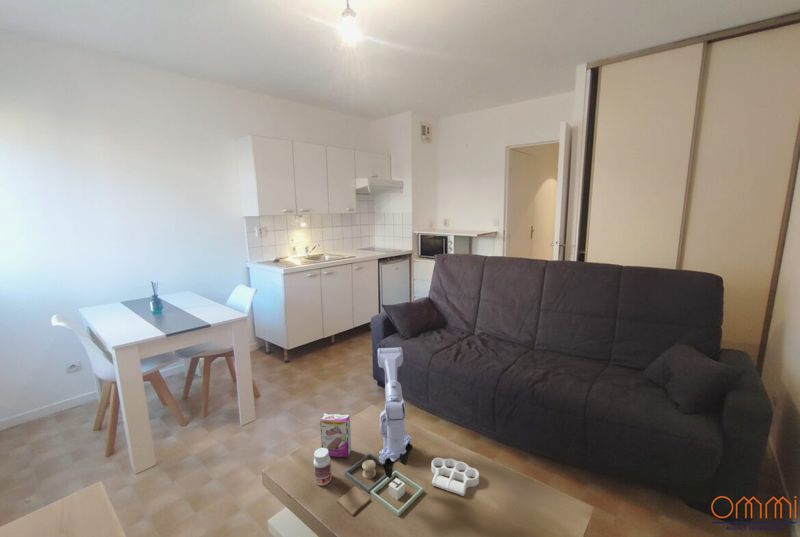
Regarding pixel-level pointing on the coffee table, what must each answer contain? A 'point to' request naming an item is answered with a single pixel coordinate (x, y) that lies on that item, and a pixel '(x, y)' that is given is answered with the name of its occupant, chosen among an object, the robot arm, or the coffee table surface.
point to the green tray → (408, 503)
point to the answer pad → (353, 500)
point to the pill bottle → (322, 466)
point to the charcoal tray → (358, 480)
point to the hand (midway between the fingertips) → (396, 469)
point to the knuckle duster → (453, 475)
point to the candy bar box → (336, 434)
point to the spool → (369, 469)
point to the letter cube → (396, 488)
